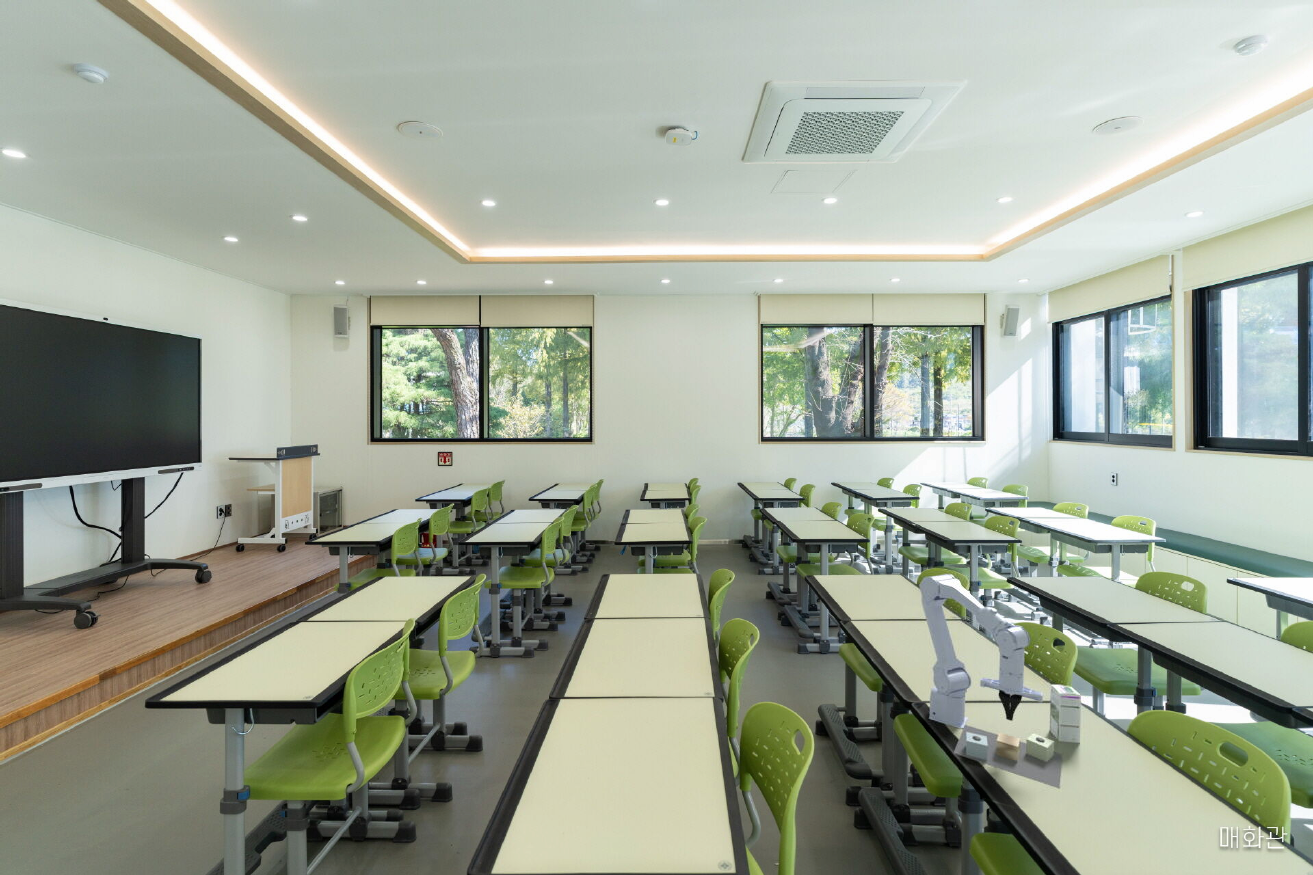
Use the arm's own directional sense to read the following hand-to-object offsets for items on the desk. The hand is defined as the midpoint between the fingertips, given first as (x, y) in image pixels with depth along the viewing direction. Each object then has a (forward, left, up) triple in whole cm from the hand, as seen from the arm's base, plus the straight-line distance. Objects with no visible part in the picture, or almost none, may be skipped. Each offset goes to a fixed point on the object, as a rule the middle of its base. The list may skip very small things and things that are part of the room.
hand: (1009, 718), depth 157 cm
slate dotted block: (-7, -6, -10) cm, 13 cm away
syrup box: (+12, +19, -10) cm, 25 cm away
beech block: (0, -1, -10) cm, 10 cm away
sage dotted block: (+7, +4, -10) cm, 12 cm away
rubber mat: (0, -1, -10) cm, 10 cm away
